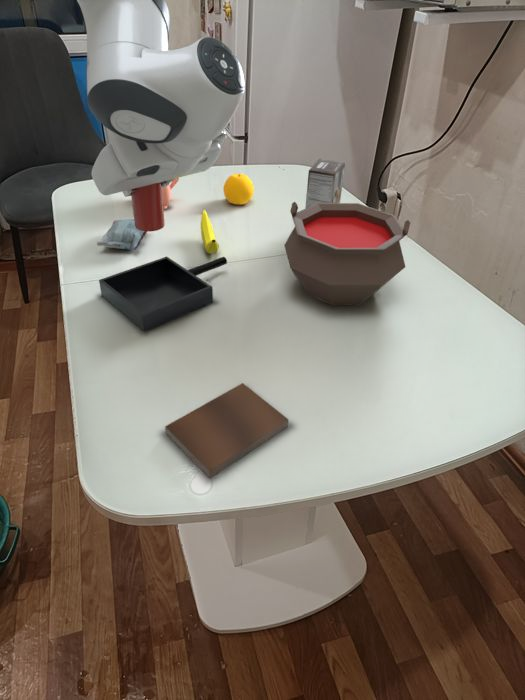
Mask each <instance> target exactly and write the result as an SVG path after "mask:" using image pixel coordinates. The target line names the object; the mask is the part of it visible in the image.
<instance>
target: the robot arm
mask: <svg viewBox="0 0 525 700" xmlns="http://www.w3.org/2000/svg"><path fill="white" fill-rule="evenodd" d="M76 1H77V4H78V5H79V7H80V11H81V13H82V16H83V20H84V25H85V30H86V93H87V94H86V96H87V98H86V100H87V101H86V102H87V106H88V109H89V110H90V112H91V114H92V115H93V116H94V118H95V119H96V120H97V121H98V122H99V123H100V124H101V125H103V127H105V128H106V129H107V130H109V133H108V139H109V143H108V144H106V145H105V146H104V147H103V148H102V149H101V150H100V152H99V154H98V156H97V157H96V160H95V162H94V164H93V166H92V169H91V178H92V180H93V182H94V183H93V184H94V185H95V187H96V188H97V190H98V192H99V193H100V194H101V195H102V196H111V195H114V194H118V193H123V195H124V197H125V198H127V197H131V196H132V195H134V193H136V191H137V190H136V188H139V187H143V186H147V185H151V184H155V183H159V182H161V186H162V188H163V187H167V186H168V185H170V184H171V183H172V181H174V180H175V179H177V178H179V179H180V178H183V177H187V176H192V175H195V174H199V173H203V172H206V171H207V170H209V169H211V168H212V167H213V166H214V164H215V163H216V161H217V160H218V158H219V156H220V154H221V152H222V146H221V145H223V143H224V142H225V140H226V139H227V137H228V136H227V133H226V132H225V131H224V130H225V129H226V127H227V126H228V125H229V123H231V121H232V119H233V118H234V116H235V114H236V112H237V111H238V109H239V107H240V105H241V102H242V100H243V98H244V95H245V90H246V82H245V75H244V71H243V68H242V65H241V63H240V60H238V57H237V56H236V55H235V53H234V52H233V51H232V50H231V49H230V47H229V46H228V45H226V44H225V43H224V42H223V41H221V40H219V39H217V38H216V37H211V36H204V37H201V38H199V39H198V40H196V41H195V42H194V43H192V44H189V45H188V46H185V47H180V48H175V49H169V41H170V21H171V20H170V19H171V18H170V16H171V15H170V11H169V7H168V4H167V3H166V0H76Z"/></svg>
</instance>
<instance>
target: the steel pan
mask: <svg viewBox="0 0 525 700" xmlns="http://www.w3.org/2000/svg"><path fill="white" fill-rule="evenodd" d="M227 263H228V260H227V258H226V257H225V256H222V257H219V258H216V259H213V260H211V261H208V262H205V263H203V264H199V265H197V266H195V267H192V268H189V269H186V268H185V267H184V266H182V265H181V264H179V263H178V262H176V261H175V260H173V259H172V258H170V257H168V256H164V257H161V258H157V259H155V260H152V261H150V262H146V263H143V264H141V265H138V266H135V267H132V268H130V269H126V270H124V271H121V272H118V273H115V274H112V275H109V276H107V277H103V278H100V279H98V283H99V289H100V294H101V297H103V299H104V300H106V301H107V302H108V303H109V304H111V306H113V307H114V308H116V310H118V311H119V312H120V313H121V314H122V315H124V317H126V318H127V319H128V320H129V321H131V322H132V323H133V324H134V325H135V326H136V327H138V329H140V330H141V331H142V332H144V333H145V332H148V331H150V330H152V329H155V328H157V327H159V326H161V325H165V324H167V323H168V322H171V321H173V320H175V319H178V318H180V317H183V316H184V315H187V314H190V313H191V312H194V311H196V310H199V309H201V308H203V307H206V306H208V305H211V304H213V303H214V299H213V298H214V297H213V295H214V294H213V293H214V292H213V290H214V289H213V285H211V284H209V283H208V282H206V281H205V280H203V279H201V278H200V277H199V275H201V274H204V273H206V272H209V271H212V270H214V269H217V268H220V267H222V266H225V265H227Z"/></svg>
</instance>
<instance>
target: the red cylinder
mask: <svg viewBox="0 0 525 700" xmlns="http://www.w3.org/2000/svg"><path fill="white" fill-rule="evenodd" d="M136 190H137V191H136V193H134V195H132V196H130V197H131V205H132V212H133V213H132V215H133V219H134V223H135V227H136V228H137V229H138V230H141V231H147V233H148V232H157V231H159V230H162V229H163V228H164V227H165V212H164V209H163V199H162V186H161V182H159V183H155V184H151V185H147V186H143V187H139V188H136Z"/></svg>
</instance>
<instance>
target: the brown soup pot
mask: <svg viewBox="0 0 525 700" xmlns="http://www.w3.org/2000/svg"><path fill="white" fill-rule="evenodd" d="M298 209H299V205H298V203H297V202H296V201H294V202H292V203H291V207H290V211H289V213H290V215H291V218H292V220H293V224H294V227H293V229H292V231H291V233H290V235H289V236H288V238H287V239H286V241H285V243H284V249H285V254H286V257H287V261H288V266H289V269H290V270H291V272H292V273H293V275H294V276H295V277H296V279H297V280H298V281H299V283H300V284H301V286H302V287H303V289H304V290H305V291H306V293H307V295H309V296H310V297H313V298H315V299H317V300H319V301H321V302H324V303H326V304H328V305H330V306H358V305H361V304H362V303H364V302H365V301H366V300H368V299H369V298H370V297H372V296H373V295H374V294H376V292H378V291H379V290H380V289H381V288H383V287H384V286H385V285H386V284H387V283H389V282H390V281H391V280H392V279H393V278H395V277H396V276H397V275H398V274H399V273H400V272H401V271H403V270H404V269H405V268H406V262H405V259H404V255H403V251H402V246H401V241H402V239H403V238H405V237H406V236H407V235H408V234H409V230H410V225H411V222H410V220H409V219H407V220H405V221H404V224H403V226H402V224H401V223H400V221H399V220H398V219H397V217H396V216H395V214H392V213H388V212H386V211H382V210H380V209H376V208H373V207H370V206H367V205H365V204H361V203H358V202H340V203H316V204H314V205H312V206H310V207H308V208H305V207H304V208H303V209H301V210H299V211H298Z"/></svg>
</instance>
